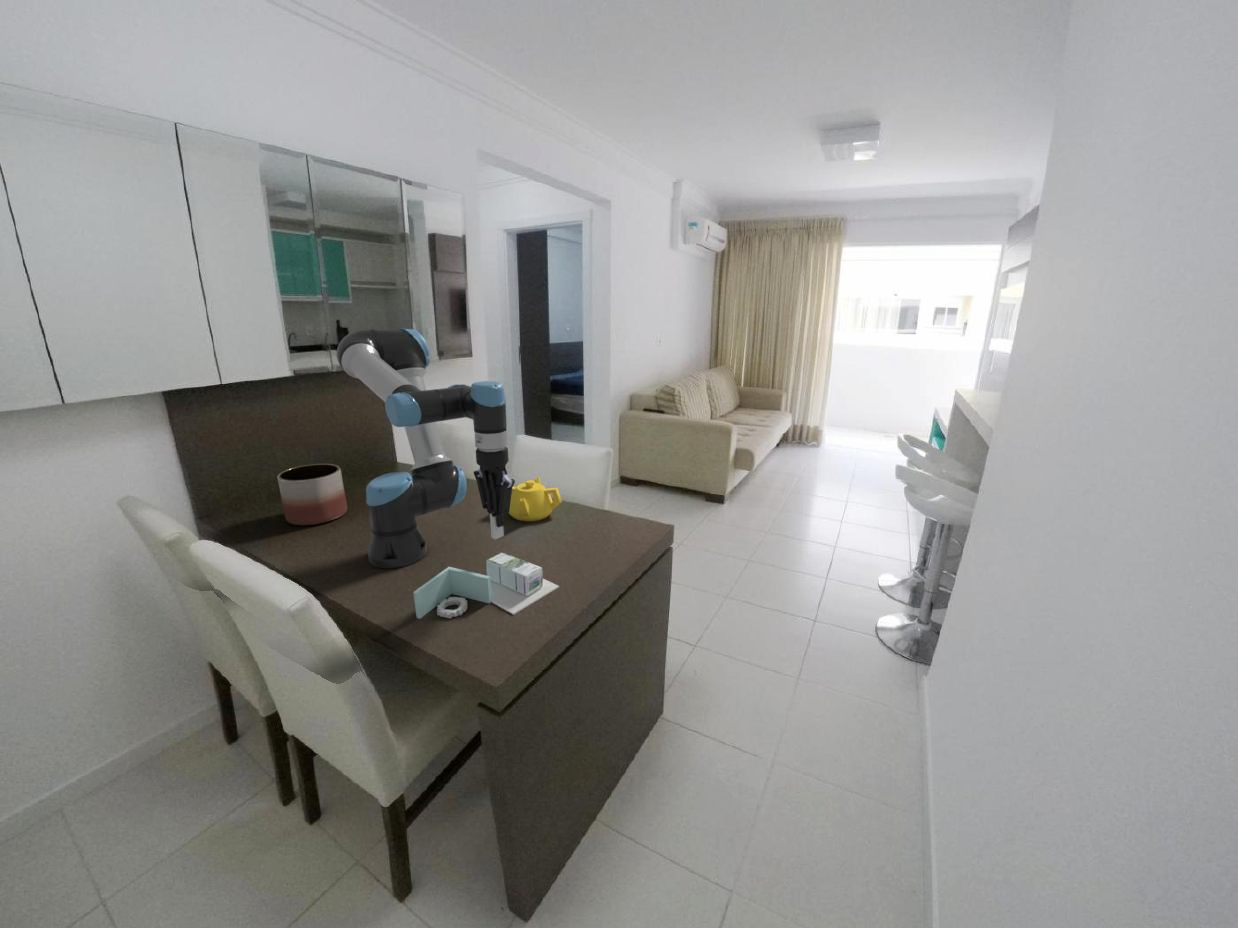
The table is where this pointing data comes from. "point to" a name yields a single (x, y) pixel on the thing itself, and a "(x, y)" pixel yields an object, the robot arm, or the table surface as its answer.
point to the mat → (518, 596)
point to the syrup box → (514, 573)
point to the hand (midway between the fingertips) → (497, 536)
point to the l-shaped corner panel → (452, 592)
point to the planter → (312, 494)
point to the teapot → (533, 501)
